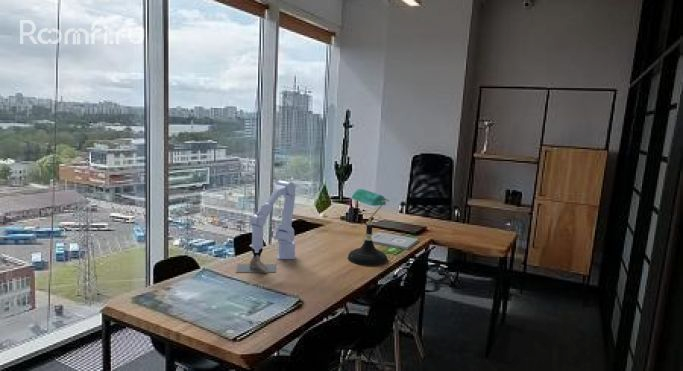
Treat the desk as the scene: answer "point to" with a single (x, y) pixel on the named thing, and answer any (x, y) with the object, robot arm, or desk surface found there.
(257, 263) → the rough beige rock
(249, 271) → the charcoal mat
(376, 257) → the banker's lamp
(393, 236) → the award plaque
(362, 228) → the desk surface
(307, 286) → the desk surface
